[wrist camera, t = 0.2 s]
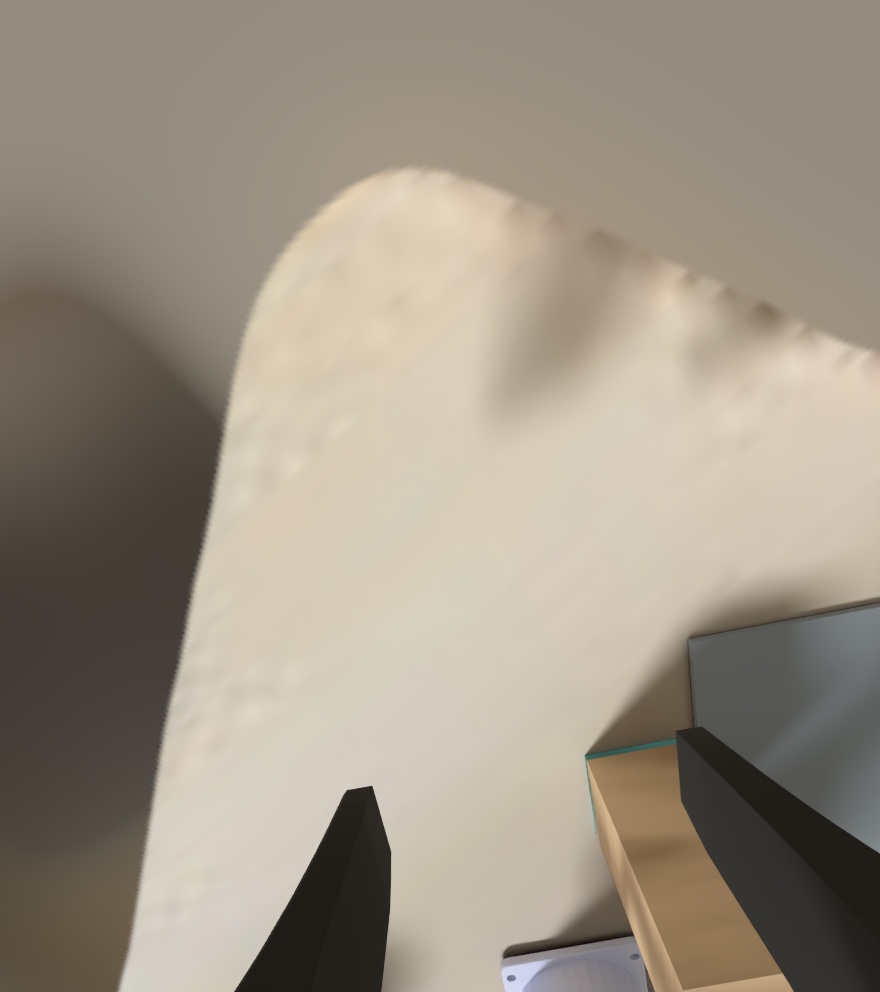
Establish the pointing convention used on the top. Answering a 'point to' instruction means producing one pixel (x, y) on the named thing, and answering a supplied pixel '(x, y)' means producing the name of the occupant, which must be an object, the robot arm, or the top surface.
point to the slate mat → (801, 708)
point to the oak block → (672, 879)
